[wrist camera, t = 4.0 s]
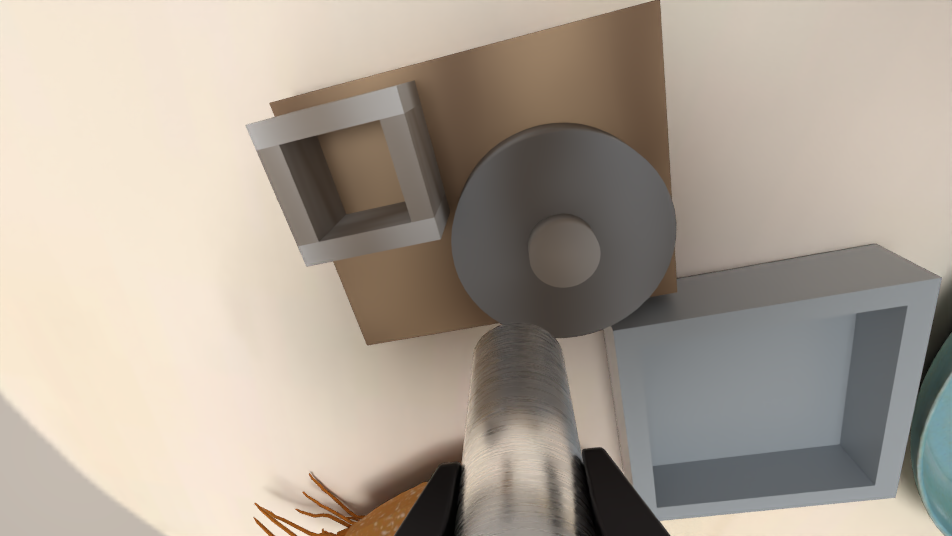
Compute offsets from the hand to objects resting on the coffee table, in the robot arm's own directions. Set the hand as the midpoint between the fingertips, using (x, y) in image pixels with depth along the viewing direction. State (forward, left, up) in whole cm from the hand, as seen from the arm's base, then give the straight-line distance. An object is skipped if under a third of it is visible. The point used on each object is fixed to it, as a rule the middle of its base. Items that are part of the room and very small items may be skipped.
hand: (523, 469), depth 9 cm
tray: (-9, +10, -13) cm, 19 cm away
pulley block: (+1, -2, -13) cm, 13 cm away
